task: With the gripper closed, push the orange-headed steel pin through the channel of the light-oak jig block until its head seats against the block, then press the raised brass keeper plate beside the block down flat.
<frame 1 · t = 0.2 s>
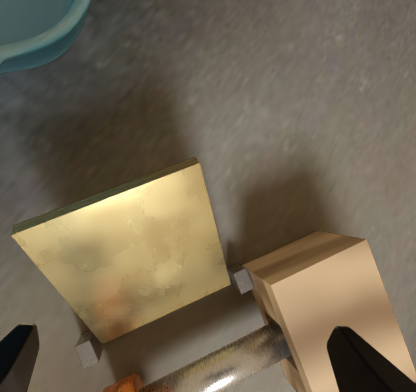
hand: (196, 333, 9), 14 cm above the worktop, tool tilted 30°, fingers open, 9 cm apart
hitch pin: (208, 376, 21), point 3 cm above the worktop, slide at 0.0 cm
jig block: (302, 303, 25), on the worktop
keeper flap: (143, 260, 20), point 4 cm above the worktop, hinge at 35.0°
keeper bracket: (167, 306, 23), on the worktop
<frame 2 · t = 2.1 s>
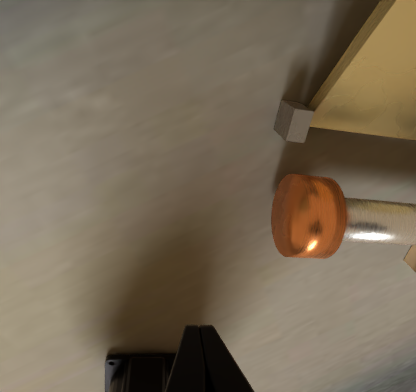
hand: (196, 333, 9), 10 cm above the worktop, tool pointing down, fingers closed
hitch pin: (393, 222, 18), point 3 cm above the worktop, slide at 0.0 cm
keeper bracket: (379, 128, 18), on the worktop
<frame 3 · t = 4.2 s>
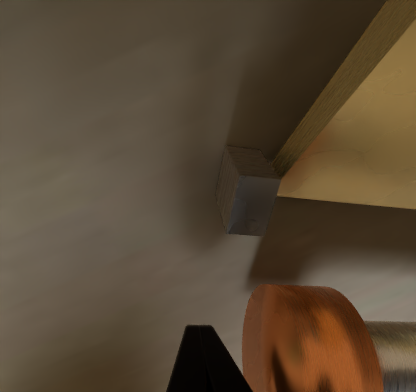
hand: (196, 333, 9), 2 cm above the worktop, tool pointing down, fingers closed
keeper bracket: (405, 191, 10), on the worktop
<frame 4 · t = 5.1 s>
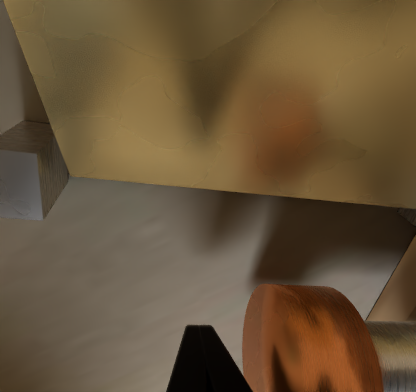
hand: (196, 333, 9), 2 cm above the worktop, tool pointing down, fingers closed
keeper bracket: (254, 174, 9), on the worktop
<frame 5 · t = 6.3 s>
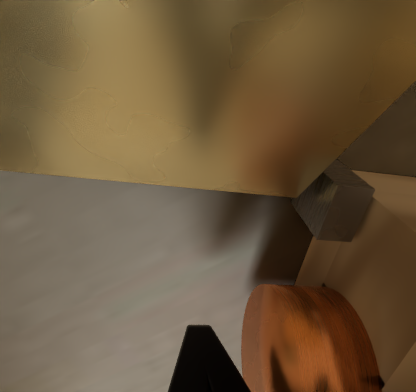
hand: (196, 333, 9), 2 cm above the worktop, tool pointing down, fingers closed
jig block: (374, 292, 12), on the worktop
keeper bracket: (120, 161, 9), on the worktop
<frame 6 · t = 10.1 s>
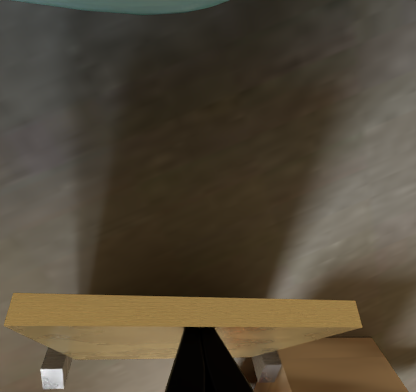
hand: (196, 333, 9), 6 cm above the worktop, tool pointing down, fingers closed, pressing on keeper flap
jig block: (301, 385, 22), on the worktop
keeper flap: (178, 337, 13), point 3 cm above the worktop, hinge at 31.3°, touching gripper
keeper bracket: (167, 343, 18), on the worktop
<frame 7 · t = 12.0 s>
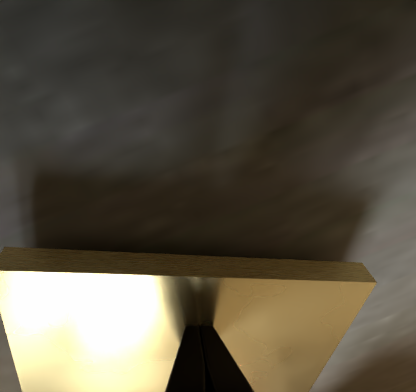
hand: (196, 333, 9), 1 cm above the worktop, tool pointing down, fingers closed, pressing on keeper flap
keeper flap: (179, 378, 11), point 1 cm above the worktop, hinge at 4.8°, touching gripper
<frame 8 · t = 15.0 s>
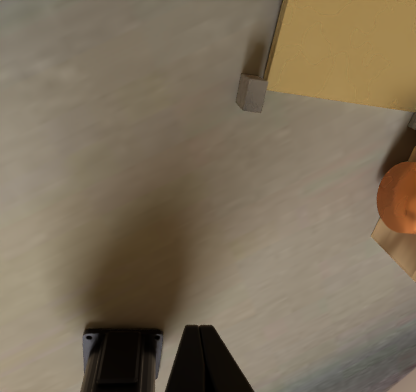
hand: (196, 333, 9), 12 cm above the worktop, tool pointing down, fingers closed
keeper bracket: (338, 103, 19), on the worktop
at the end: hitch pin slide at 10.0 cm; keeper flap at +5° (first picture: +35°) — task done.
